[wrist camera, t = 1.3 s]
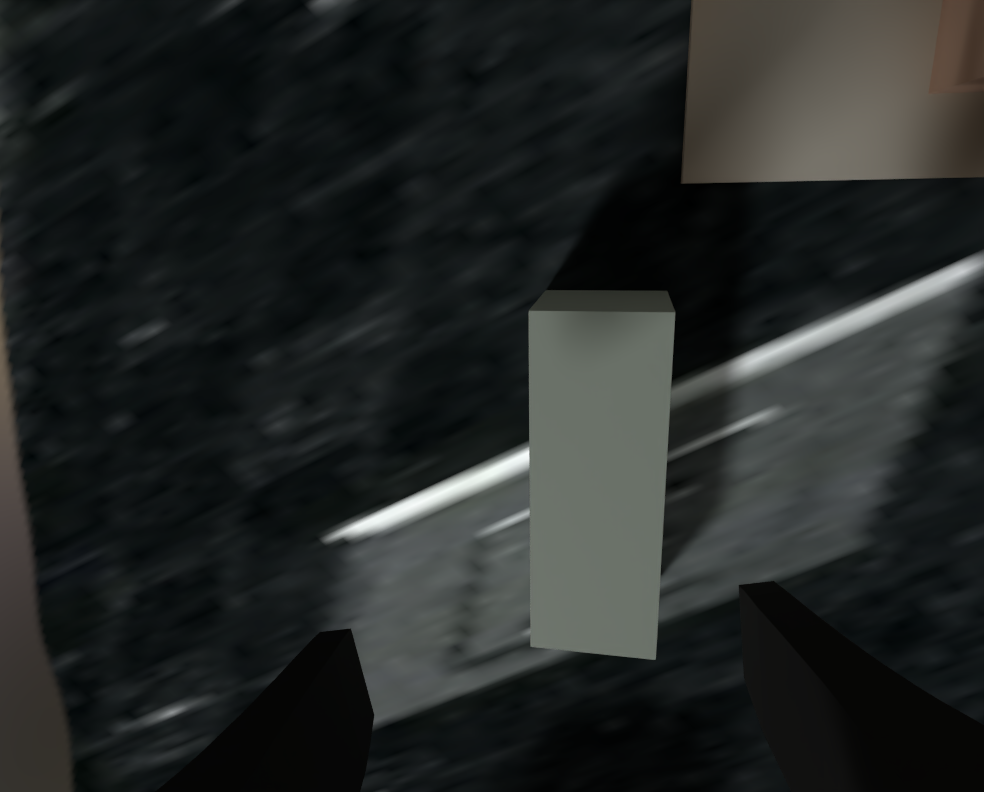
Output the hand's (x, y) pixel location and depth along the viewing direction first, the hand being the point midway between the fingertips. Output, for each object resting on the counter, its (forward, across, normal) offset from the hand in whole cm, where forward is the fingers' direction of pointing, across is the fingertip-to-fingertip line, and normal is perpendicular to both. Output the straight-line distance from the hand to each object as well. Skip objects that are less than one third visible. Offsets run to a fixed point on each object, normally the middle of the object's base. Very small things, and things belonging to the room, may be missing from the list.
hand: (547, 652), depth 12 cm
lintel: (+10, -2, 0) cm, 10 cm away
